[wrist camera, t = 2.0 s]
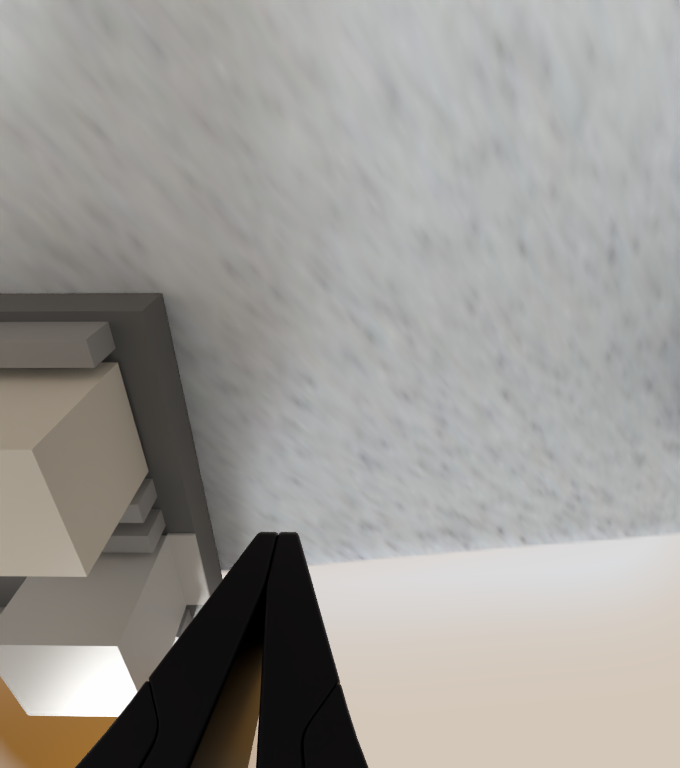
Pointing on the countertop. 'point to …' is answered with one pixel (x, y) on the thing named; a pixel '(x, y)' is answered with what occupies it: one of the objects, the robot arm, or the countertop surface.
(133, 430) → the beige cube
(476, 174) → the countertop surface
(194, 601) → the switch board
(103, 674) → the light grey cube
